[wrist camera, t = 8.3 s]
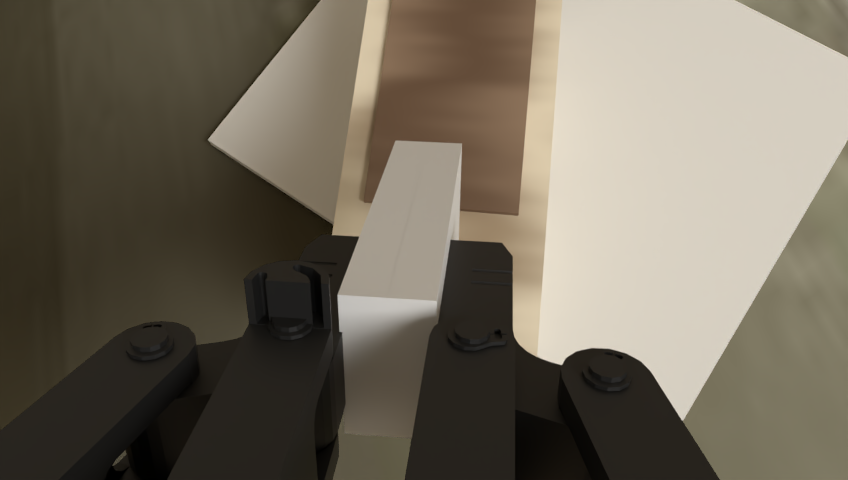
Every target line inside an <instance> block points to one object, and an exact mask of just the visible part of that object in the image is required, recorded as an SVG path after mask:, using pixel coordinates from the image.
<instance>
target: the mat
mask: <svg viewBox="0 0 848 480" xmlns="http://www.w3.org/2000/svg"><path fill="white" fill-rule="evenodd" d="M367 4H368V0H320V2H319V3H318V4H317V5H316V7H315V8H314V9H313V10H312V12H311V13H310V14H309V15H308V16H307V18H306V19H305V20H304V21H303V23H302V24H301V25H300V26H299V28H298V29H297V30H296V31H295V33H294V34H293V35H292V36H291V37H290V39H289V40H288V41H287V42H286V44H285V45H284V46H283V47H282V49H281V50H280V51H279V52H278V54H277V55H276V56H275V57H274V58H273V60H272V61H271V62H270V63H269V65H268V66H267V67H266V68H265V70H264V71H263V72H262V73H261V74H260V76H259V77H258V78H257V79H256V81H255V82H254V83H253V84H252V86H251V87H250V88H249V89H248V91H247V92H246V93H245V94H244V95H243V97H242V98H241V99H240V100H239V102H238V103H237V104H236V105H235V107H234V108H233V109H232V110H231V112H230V113H229V114H228V115H227V116H226V118H225V119H224V120H223V121H222V123H221V124H220V125H219V126H218V128H217V129H216V130H215V131H214V133H213V134H212V135H211V136H210V137H209V139H208V141H209V142H210V144H211V145H212V146H214V147H215V148H217V149H218V150H220V151H221V152H223V153H224V154H226V155H227V156H229V157H231V158H232V159H234V160H235V161H237V162H238V163H240V164H241V165H243V166H244V167H246V168H247V169H249V170H250V171H252V172H253V173H255V174H256V175H258V176H259V177H261V178H263V179H264V180H266V181H267V182H269V183H270V184H272V185H273V186H275V187H276V188H278V189H279V190H281V191H282V192H284V193H285V194H287V195H288V196H290V197H291V198H293V199H294V200H296V201H298V202H299V203H301V204H302V205H304V206H305V207H307V208H308V209H310V210H311V211H313V212H314V213H316V214H317V215H319V216H320V217H322V218H323V219H325V220H326V221H328V222H330V223H331V224H333V225H334V218H335V212H336V205H337V199H338V192H339V186H340V179H341V173H342V166H343V160H344V153H345V147H346V140H347V134H348V127H349V121H350V114H351V108H352V101H353V95H354V88H355V82H356V75H357V69H358V62H359V56H360V49H361V43H362V36H363V30H364V23H365V17H366V10H367ZM847 140H848V57H846V56H844V55H842V54H840V53H838V52H836V51H834V50H832V49H830V48H828V47H826V46H824V45H822V44H820V43H818V42H816V41H814V40H812V39H810V38H808V37H806V36H804V35H802V34H800V33H798V32H796V31H795V30H793V29H791V28H789V27H787V26H785V25H783V24H781V23H779V22H777V21H775V20H773V19H771V18H769V17H767V16H765V15H763V14H761V13H759V12H757V11H755V10H753V9H751V8H749V7H747V6H745V5H743V4H741V3H739V2H737V1H735V0H562V12H561V26H560V40H559V54H558V69H557V83H556V97H555V111H554V125H553V139H552V153H551V167H550V182H549V196H548V210H547V224H546V238H545V252H544V266H543V281H542V295H541V309H540V323H539V337H538V351H537V357H538V358H541V359H543V360H546V361H549V362H552V363H556V364H559V365H562V364H563V362H564V360H565V359H566V358H567V357H568V356H570V355H571V354H573V353H575V352H576V351H580V350H585V349H589V348H604V349H612V350H616V351H619V352H623V353H627V354H628V355H630V356H632V357H634V358H636V359H638V360H639V361H641V362H642V363H643V364H644V365H645V366H646V367H647V368H648V369H649V370H650V371H651V373H652V374H653V376H654V377H655V379H656V381H657V382H658V384H659V385H660V387H661V388H662V390H663V391H664V393H665V395H666V396H667V398H668V399H669V401H670V402H671V404H672V406H673V407H674V409H675V410H676V412H677V413H678V415H679V417H680V418H681V420H682V421H683V419H684V418H685V416H686V414H687V413H688V411H689V409H690V408H691V406H692V404H693V402H694V401H695V399H696V397H697V396H698V394H699V392H700V391H701V389H702V387H703V385H704V384H705V382H706V380H707V379H708V377H709V375H710V374H711V372H712V370H713V368H714V367H715V365H716V363H717V362H718V360H719V358H720V357H721V355H722V353H723V351H724V350H725V348H726V346H727V345H728V343H729V341H730V339H731V338H732V336H733V334H734V333H735V331H736V329H737V328H738V326H739V324H740V322H741V321H742V319H743V317H744V316H745V314H746V312H747V311H748V309H749V307H750V305H751V304H752V302H753V300H754V299H755V297H756V295H757V294H758V292H759V290H760V288H761V287H762V285H763V283H764V282H765V280H766V278H767V277H768V275H769V273H770V271H771V270H772V268H773V266H774V265H775V263H776V261H777V259H778V258H779V256H780V254H781V253H782V251H783V249H784V248H785V246H786V244H787V242H788V241H789V239H790V237H791V236H792V234H793V232H794V231H795V229H796V227H797V225H798V224H799V222H800V220H801V219H802V217H803V215H804V214H805V212H806V210H807V208H808V207H809V205H810V203H811V202H812V200H813V198H814V196H815V195H816V193H817V191H818V190H819V188H820V186H821V185H822V183H823V181H824V179H825V178H826V176H827V174H828V173H829V171H830V169H831V168H832V166H833V164H834V162H835V161H836V159H837V157H838V156H839V154H840V152H841V151H842V149H843V147H844V145H845V144H846V142H847Z"/></svg>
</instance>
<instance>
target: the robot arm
mask: <svg viewBox="0 0 848 480" xmlns="http://www.w3.org/2000/svg"><path fill="white" fill-rule="evenodd" d="M461 159H462V143H440V142H417V141H395V143H394V146H393V149H392V151H391V154H390V157H389V159H388V162H387V165H386V167H385V170H384V173H383V175H382V178H381V181H380V183H379V186H378V189H377V191H376V194H375V197H374V199H373V202H372V205H371V207H370V210H369V213H368V215H367V218H366V220H365V223H364V226H363V228H362V231H361V234H360V236H359V237H358V236H340V235H321V236H319V237H318V238H317V239H315V240H314V241H312V242H311V243H310V244H308V245H307V246H306V247H305V249H304V251H303V253H302V255H301V257H300V259H299V261H298V260H293V261H278V262H274V263H270V264H266V265H263V266H261V267H259V268H257V269H255V270H253V271H251V272H250V273H249V274H248V275H247V276H246V277H245V278H244V284H245V293H246V301H247V310H248V318H249V325H248V327H247V329H246V331H245V333H244V335H243V337H240V338H237V339H233V340H228V341H224V342H216V343H209V344H201V345H196V338H195V335H194V333H193V332H192V331H191V330H190V329H189V328H188V327H186V326H184V325H181V324H179V323H174V322H163V321H160V322H150V323H144V324H141V325H138V326H135V327H132V328H129V329H127V330H125V331H124V332H122V333H121V334H119V335H117V336H116V337H114V338H113V339H112V340H110V341H109V342H108V343H107V344H106V345H104V346H103V347H102V348H101V349H99V350H98V351H97V352H96V353H95V354H93V355H92V356H91V357H90V358H88V359H87V360H86V361H85V362H84V363H82V364H81V365H80V366H79V367H78V368H76V369H75V370H74V371H73V372H71V373H70V374H69V375H68V376H67V377H65V378H64V379H63V380H62V381H60V382H59V383H58V384H57V385H56V386H54V387H53V388H52V389H51V390H49V391H48V392H47V393H46V394H45V395H43V396H42V397H41V398H40V399H38V400H37V401H36V402H35V403H34V404H32V405H31V406H30V407H29V408H27V409H26V410H25V411H24V412H23V413H21V414H20V415H19V416H18V417H16V418H15V419H14V420H13V421H12V422H10V423H9V424H8V425H7V426H6V427H4V428H3V429H2V430H1V431H0V480H332V479H333V475H334V472H335V468H336V464H337V461H338V457H339V441H338V429H339V425H340V422H341V418H342V415H343V412H344V431H345V434H358V435H371V436H384V437H397V438H410V439H412V440H411V446H410V452H409V458H408V464H407V469H406V475H405V480H720V479H719V478H718V476H717V475H716V473H715V472H714V470H713V468H712V467H711V465H710V464H709V462H708V461H707V459H706V457H705V456H704V454H703V453H702V451H701V450H700V448H699V446H698V445H697V443H696V442H695V440H694V439H693V437H692V435H691V434H690V432H689V431H688V429H687V428H686V426H685V424H684V423H683V421H682V420H681V418H680V417H679V415H678V413H677V412H676V410H675V409H674V407H673V406H672V404H671V402H670V401H669V399H668V398H667V396H666V395H665V393H664V391H663V390H662V388H661V387H660V385H659V384H658V382H657V381H656V379H655V377H654V376H653V374H652V373H651V371H650V370H649V369H648V368H647V367H646V366H645V365H644V364H643V363H642V362H641V361H639V360H638V359H636V358H634V357H632V356H630V355H628V354H627V353H623V352H619V351H616V350H612V349H604V348H589V349H585V350H580V351H576V352H575V353H573V354H571V355H570V356H568V357H567V358H566V359H565V360H564V362H563V364H562V365H559V364H556V363H552V362H549V361H546V360H543V359H541V358H538V357H536V356H534V355H532V354H531V353H529V352H527V351H526V350H525V349H524V348H523V347H521V346H520V345H519V343H518V342H517V340H516V339H515V337H514V333H513V256H512V255H511V253H510V252H509V251H508V250H507V248H506V247H505V246H504V245H503V243H500V242H482V241H464V240H459V217H460V188H461ZM125 450H126V453H127V454H126V456H125V457H124V458H123V459H122V460H121V461H120V462H119V463H117V464H116V465H114V466H112V464H113V463H114V462H115V460H116V459H117V458H118V457H119V456H120V455H121V454H122V453H123V452H124V451H125Z"/></svg>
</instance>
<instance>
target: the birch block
mask: <svg viewBox="0 0 848 480" xmlns="http://www.w3.org/2000/svg"><path fill="white" fill-rule="evenodd" d="M561 12H562V0H368V4H367V10H366V17H365V23H364V30H363V36H362V43H361V49H360V56H359V62H358V69H357V75H356V82H355V88H354V95H353V101H352V108H351V114H350V121H349V127H348V134H347V140H346V147H345V153H344V160H343V166H342V173H341V179H340V186H339V192H338V199H337V205H336V212H335V218H334V225H333V231H332V235H340V236H358V237H359V236H360V234H361V231H362V228H363V226H364V223H365V220H366V218H367V215H368V213H369V210H370V207H371V205H372V202H373V199H374V197H375V194H376V191H377V189H378V186H379V183H380V181H381V178H382V175H383V173H384V170H385V167H386V165H387V162H388V159H389V157H390V154H391V151H392V149H393V146H394V143H395V141H417V142H440V143H462V159H461V188H460V217H459V240H464V241H482V242H500V243H503V245H504V246H505V247H506V248H507V250H508V251H509V252H510V253H511V255H512V256H513V333H514V337H515V339H516V340H517V342H518V343H519V345H520V346H521V347H523V348H524V349H525V350H526V351H527V352H529V353H531V354H532V355H534V356H536V357H537V351H538V337H539V323H540V309H541V295H542V281H543V266H544V252H545V238H546V224H547V210H548V196H549V182H550V167H551V153H552V139H553V125H554V111H555V97H556V83H557V69H558V54H559V40H560V26H561Z"/></svg>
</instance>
